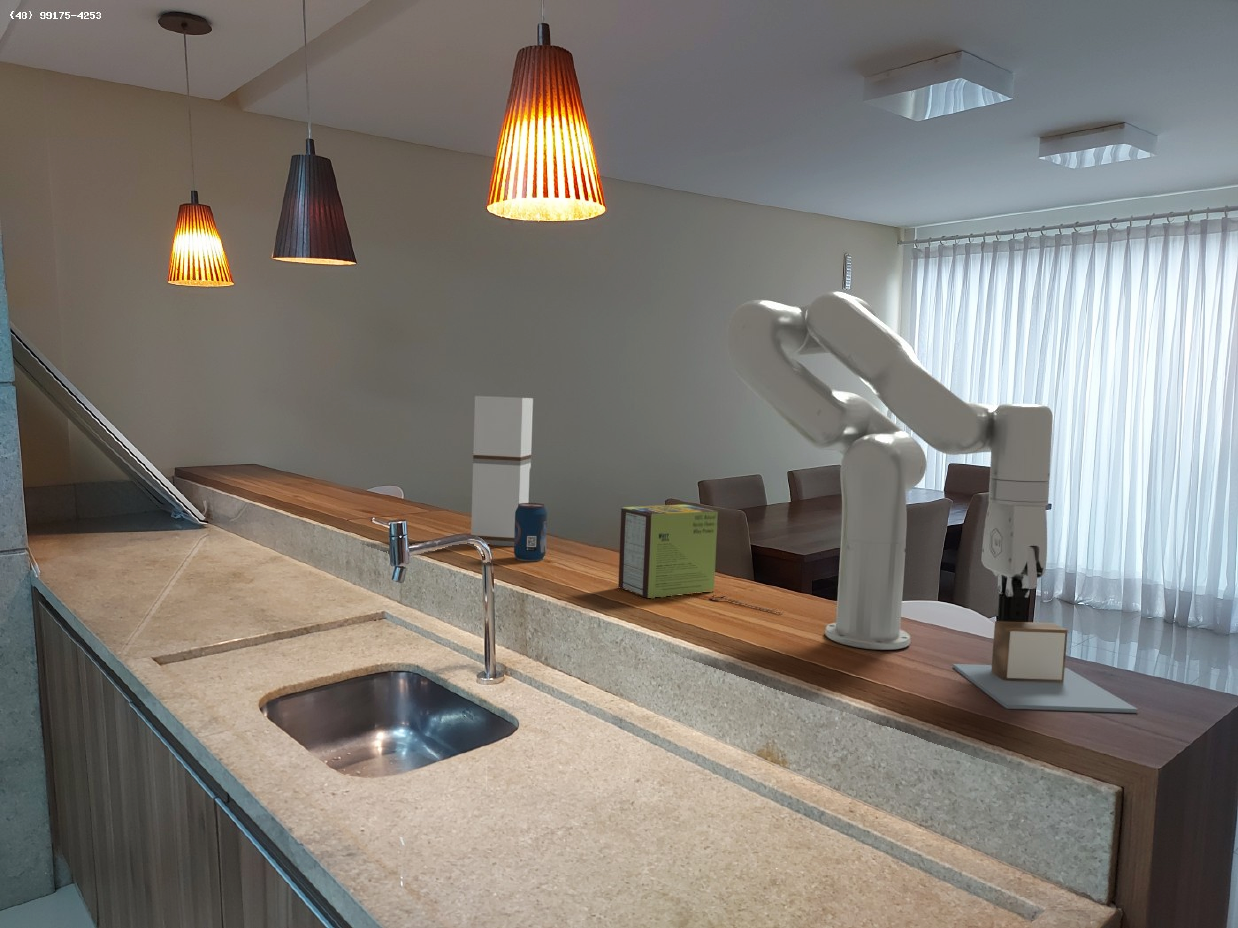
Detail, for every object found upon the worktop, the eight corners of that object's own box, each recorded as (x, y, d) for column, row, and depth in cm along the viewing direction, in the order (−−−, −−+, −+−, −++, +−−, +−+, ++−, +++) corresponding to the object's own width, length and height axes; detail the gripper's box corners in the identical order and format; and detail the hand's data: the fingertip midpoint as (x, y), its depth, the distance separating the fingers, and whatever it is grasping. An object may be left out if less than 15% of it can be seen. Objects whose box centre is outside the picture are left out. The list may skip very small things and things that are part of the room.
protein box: (715, 592, 161) (719, 510, 160) (647, 599, 153) (651, 513, 152) (682, 581, 170) (685, 503, 169) (616, 587, 162) (619, 506, 160)
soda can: (512, 555, 189) (514, 502, 189) (543, 556, 191) (545, 502, 190) (514, 561, 183) (516, 506, 182) (546, 562, 184) (548, 506, 183)
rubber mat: (952, 667, 119) (952, 663, 119) (1066, 671, 119) (1066, 667, 119) (1006, 708, 103) (1006, 704, 103) (1137, 712, 103) (1137, 708, 103)
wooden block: (991, 671, 116) (994, 621, 115) (1049, 673, 116) (1053, 623, 116) (1004, 680, 112) (1008, 628, 112) (1064, 682, 112) (1068, 630, 112)
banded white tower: (528, 539, 212) (533, 398, 210) (517, 546, 202) (522, 397, 199) (483, 536, 213) (487, 396, 211) (470, 543, 203) (474, 395, 200)
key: (793, 615, 148) (725, 598, 159) (793, 610, 148) (726, 593, 159) (773, 618, 144) (705, 599, 155) (773, 612, 144) (705, 594, 155)
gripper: (968, 487, 126) (962, 610, 127) (1017, 497, 111) (1010, 636, 112) (1019, 488, 126) (1012, 611, 127) (1074, 499, 111) (1066, 638, 112)
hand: (1011, 623), depth 120 cm, fingers closed
